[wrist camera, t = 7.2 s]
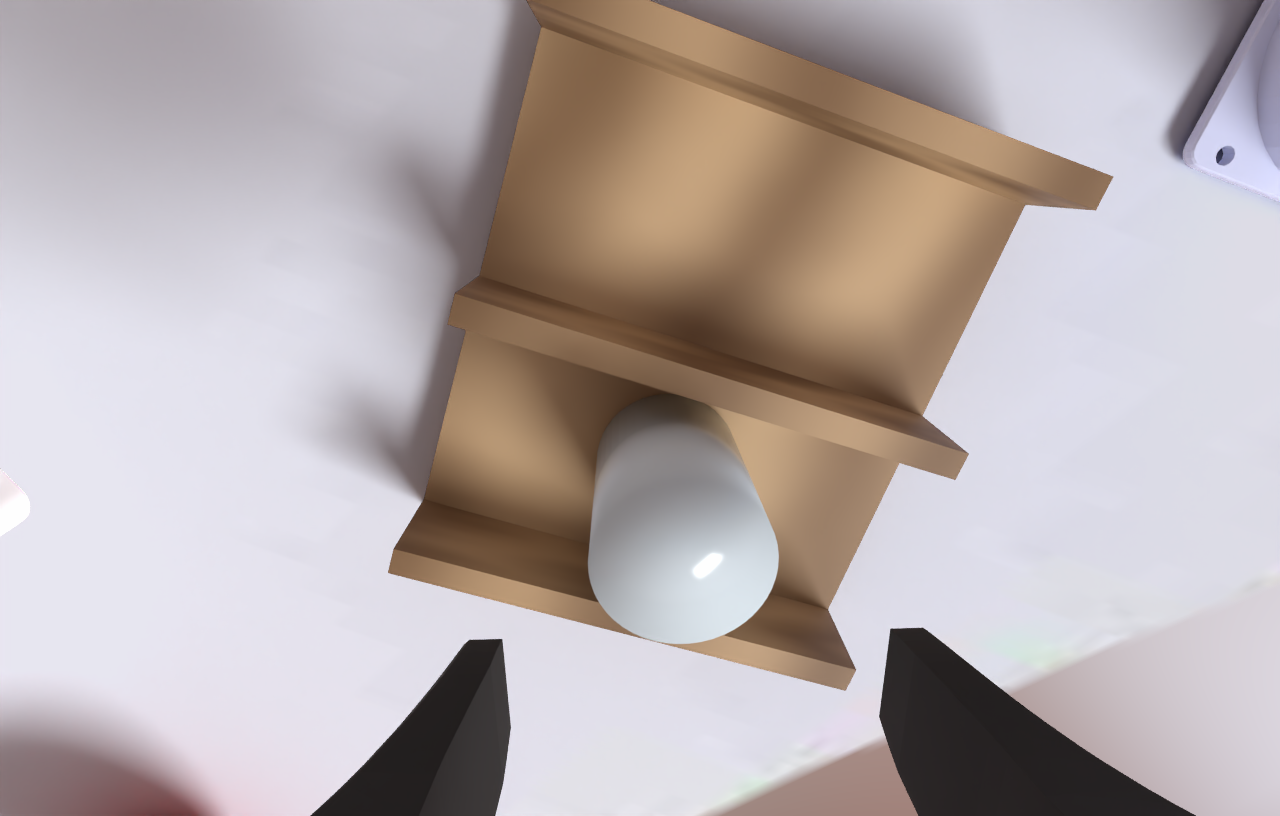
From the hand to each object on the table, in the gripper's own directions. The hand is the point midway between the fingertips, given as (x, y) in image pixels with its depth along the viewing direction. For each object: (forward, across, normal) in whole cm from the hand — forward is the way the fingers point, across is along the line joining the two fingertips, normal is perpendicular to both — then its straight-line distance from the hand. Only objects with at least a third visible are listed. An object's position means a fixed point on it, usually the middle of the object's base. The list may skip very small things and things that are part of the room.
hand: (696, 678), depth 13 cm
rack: (+10, -1, -4) cm, 11 cm away
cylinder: (+9, 0, 0) cm, 9 cm away
